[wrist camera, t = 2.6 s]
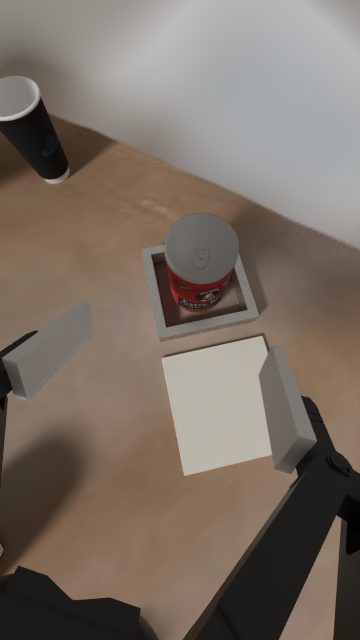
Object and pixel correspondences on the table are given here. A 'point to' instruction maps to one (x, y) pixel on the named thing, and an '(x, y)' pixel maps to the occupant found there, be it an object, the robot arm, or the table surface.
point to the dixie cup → (31, 128)
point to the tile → (218, 404)
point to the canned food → (200, 259)
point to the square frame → (187, 329)
